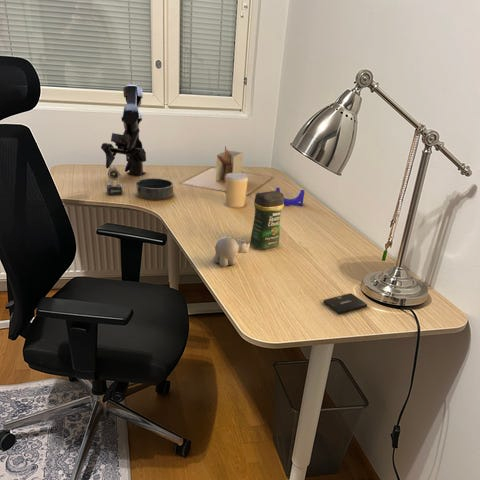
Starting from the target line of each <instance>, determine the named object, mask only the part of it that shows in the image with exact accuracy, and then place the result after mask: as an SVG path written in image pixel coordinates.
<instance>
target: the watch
mask: <svg viewBox="0 0 480 480" xmlns="http://www.w3.org/2000/svg"><path fill="white" fill-rule="evenodd" d="M121 176H122V174H121V171H119V169H118V168H117V167H116V166H114V165H113V166H110V167H109V168H108V171H107V177H108V179H109V183H110V184H106V193H107V195H108V196H121V195H123V187H122V186H121V184H120V183H119V182H120V178H121Z"/></svg>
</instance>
